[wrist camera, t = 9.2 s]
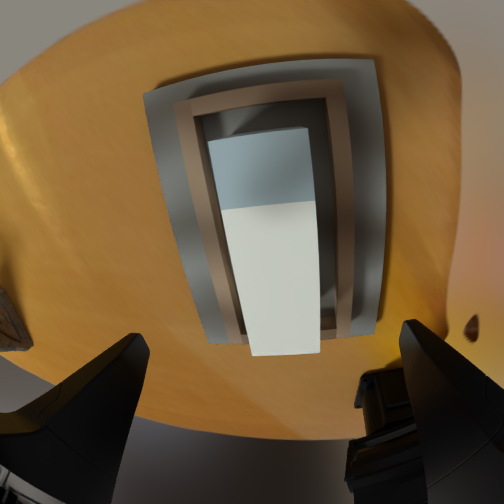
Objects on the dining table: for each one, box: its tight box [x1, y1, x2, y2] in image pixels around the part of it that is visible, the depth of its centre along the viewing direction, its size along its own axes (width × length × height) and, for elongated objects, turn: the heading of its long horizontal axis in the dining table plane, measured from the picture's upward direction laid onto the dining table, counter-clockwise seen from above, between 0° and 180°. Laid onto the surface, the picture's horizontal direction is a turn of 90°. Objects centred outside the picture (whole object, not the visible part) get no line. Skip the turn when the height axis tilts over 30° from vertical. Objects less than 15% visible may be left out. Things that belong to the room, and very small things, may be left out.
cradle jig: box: [143, 59, 386, 344], centre depth 17 cm, size 20×14×2 cm
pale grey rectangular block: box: [208, 126, 320, 356], centre depth 15 cm, size 12×4×5 cm, turn 8°
